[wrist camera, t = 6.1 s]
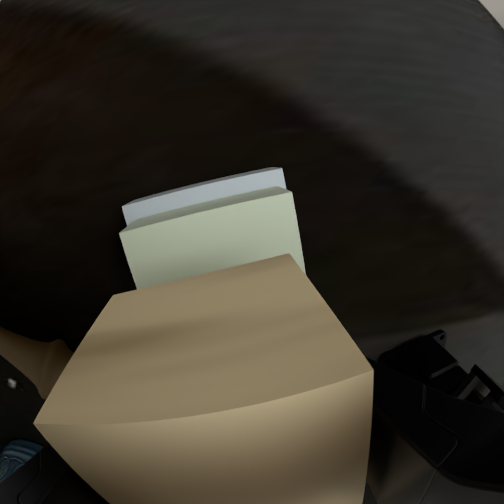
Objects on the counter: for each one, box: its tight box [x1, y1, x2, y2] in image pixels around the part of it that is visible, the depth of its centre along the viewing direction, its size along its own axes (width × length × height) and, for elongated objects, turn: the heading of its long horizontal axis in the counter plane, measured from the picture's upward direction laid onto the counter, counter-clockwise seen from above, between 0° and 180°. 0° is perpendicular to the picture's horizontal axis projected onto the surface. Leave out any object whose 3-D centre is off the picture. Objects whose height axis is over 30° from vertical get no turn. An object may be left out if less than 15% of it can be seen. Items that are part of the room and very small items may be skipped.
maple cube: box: [33, 253, 374, 504], centre depth 6 cm, size 5×5×5 cm
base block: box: [122, 167, 286, 226], centre depth 17 cm, size 8×8×3 cm
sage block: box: [119, 186, 306, 289], centre depth 14 cm, size 7×7×3 cm
